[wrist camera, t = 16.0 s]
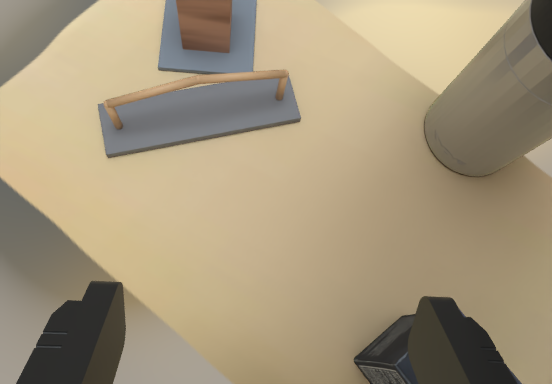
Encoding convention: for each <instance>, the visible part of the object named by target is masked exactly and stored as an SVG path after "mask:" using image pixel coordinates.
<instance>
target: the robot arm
mask: <svg viewBox="0 0 552 384" xmlns="http://www.w3.org/2000/svg"><path fill="white" fill-rule="evenodd" d="M425 135H426V139H427V142H428V144H429V146H430V149H431V150H432V152H433V153H434V154H435V156H436V157H437V158H438V159H439V160H440V161H441V162H442V163H443V164H444V165H445V166H447V167H448V168H450V169H451V170H453V171H455V172H458V173H460V174H463V175H468V176H485V175H489V174H492V173H494V172H496V171H498V170H500V169H501V168H503V167H505V166H506V165H508V164H510V163H511V162H513V161H514V160H516V159H518V158H520V157H522V156H523V155H525V154H526V153H528V152H530V151H531V150H533V149H535V148H536V147H538V146H540V145H541V144H543V143H545V142H546V141H548V140H550V139H551V138H552V0H525V1H524V2H523V3H522V4H521V6H520V7H519V8H518V9H517V10H516V11H515V12H514V14H513V15H512V16H511V17H510V18H509V19H508V21H507V22H506V23H505V24H504V25H503V26H502V27H501V28H500V29H499V30H498V31H497V33H496V34H495V35H494V36H493V37H492V38H491V39H490V41H488V43H487V44H486V45H485V46H484V47H483V48H482V49H481V50H480V51H479V53H478V54H477V55H476V56H475V57H474V58H473V59H472V60H471V62H470V63H469V64H468V65H467V66H466V67H465V68H464V69H463V70H462V71H461V73H460V74H459V75H458V76H457V77H456V78H455V79H454V80H453V81H452V82H451V83H450V85H449V86H448V87H447V88H446V89H445V90H444V91H443V93H442V94H441V95H440V96H439V97H438V98H437V99H436V100H435V101H434V103H433V104H432V105H431V106H430V108H429V110H428V112H427V114H426V119H425ZM125 327H126V325H125V311H124V295H123V285H122V283H121V282H105V281H91V282H90V284H89V286H88V288H87V290H86V293H85V295H84V297H83V299H82V301H71V300H68V301H67V302H65V303H64V304H63V305H62V306H61V307H60V308H58V309H57V310H56V311H55V312H54V313H53V314H52V315H51V317H50V319H49V321H48V323H47V325H46V327H45V329H44V331H43V334H42V335H41V336H40V338H39V340H38V342H37V344H36V348H34V350H33V352H32V354H31V356H30V358H29V360H28V362H27V364H26V365H25V367H24V369H23V371H22V373H21V375H20V377H19V379H18V381H17V383H16V384H113V381H114V378H115V375H116V371H117V368H118V364H119V361H120V358H121V354H122V351H123V347H124V341H125V331H126V328H125ZM408 355H409V360H410V363H411V365H412V368H413V371H414V373H415V376H416V379H417V381H418V384H517V382H516V380H515V379H514V377H513V375H512V374H511V372H510V370H509V369H508V367H507V365H506V364H504V360H503V359H502V357H501V355H500V354H499V352H498V351H496V347H495V345H494V343H493V342H492V340H491V338H490V337H489V335H488V333H487V332H486V331H485V330H484V329H483V328H482V327H481V326H480V325H479V324H478V323H476V322H475V321H474V320H473V319H472V318H471V317H463V315H462V314H461V312H460V310H459V308H458V306H457V305H456V303H455V301H454V300H453V299H452V298H450V297H428V296H424V297H422V298H421V300H420V302H419V305H418V308H417V311H416V315H415V318H414V321H413V325H412V328H411V331H410V334H409V338H408Z"/></svg>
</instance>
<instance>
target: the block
mask: <svg viewBox="0 0 552 384" xmlns="http://www.w3.org/2000/svg"><path fill="white" fill-rule="evenodd" d="M176 5H177V12H178V19H179V26H180V33H181V40H182V47H183V49H185V50H197V51H209V52H221V53H229V51H230V36H231V20H232V0H176Z"/></svg>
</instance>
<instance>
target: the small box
mask: <svg viewBox="0 0 552 384" xmlns="http://www.w3.org/2000/svg"><path fill="white" fill-rule="evenodd" d="M459 310H460V309H459ZM460 312H461V311H460ZM461 314H462V315H463V317H465V315H464V314H463V313H462V312H461ZM415 315H416V314H413V315H404V316H402V317H400V318H399V319H398V320H397V321H396V322H395V323H393V324H392V325H391V326H390V327H389V328H388V329H387V330H385V331H384V332H383V333H382V334H381V335H380V336H379V337H377V338H376V339H375V340H374V341H373V342H372V343H371V344H370V345H369V346H367V347H366V348H365V349H364V350H363V351H362V352H360V353H359V354H358V355H357V356H356V357H355V358H354V362H355V364H356V365H357V366H358V368H359V369H360V370H361V372H362V373H363V374H364V376H365V377H366V378H367V379H368V381H369V382H370V383H371V384H418V381H417V379H416V376H415V373H414V371H413V368H412V365H411V363H410V360H409V355H408V338H409V334H410V331H411V328H412V325H413V321H414V318H415ZM504 364H505V363H504ZM508 369H509V368H508ZM509 370H510V369H509ZM510 372H511V371H510ZM511 374H512V375H513V377H514V379H515V380H516V382H517V384H522V383H521V382H520V381H519V380H518V379H517V378H516V376H515V375H514V374H513V373H512V372H511Z"/></svg>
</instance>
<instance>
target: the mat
mask: <svg viewBox="0 0 552 384" xmlns="http://www.w3.org/2000/svg"><path fill="white" fill-rule="evenodd" d="M255 18H256V0H232V20H231V36H230V51H229V53H221V52H209V51H197V50H185V49H183V47H182V40H181V33H180V26H179V19H178V12H177V5H176V0H166V4H165V12H164V21H163V29H162V38H161V46H160V55H159V63H158V69H159V70H165V71H177V72H189V73H201V74H224V73H240V72H253V56H254V37H255Z"/></svg>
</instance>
